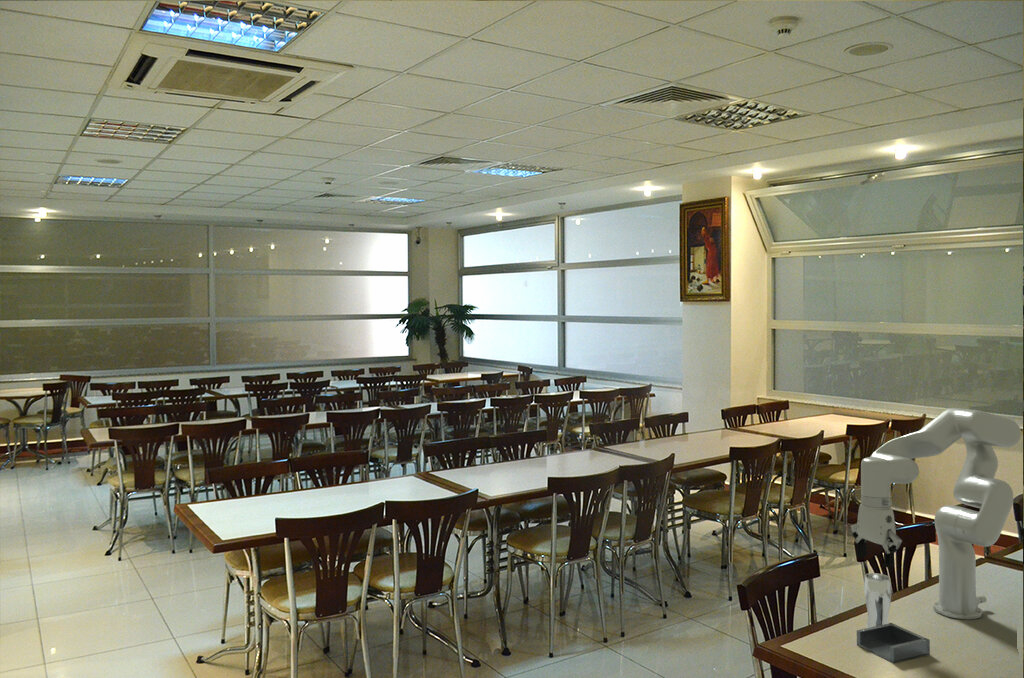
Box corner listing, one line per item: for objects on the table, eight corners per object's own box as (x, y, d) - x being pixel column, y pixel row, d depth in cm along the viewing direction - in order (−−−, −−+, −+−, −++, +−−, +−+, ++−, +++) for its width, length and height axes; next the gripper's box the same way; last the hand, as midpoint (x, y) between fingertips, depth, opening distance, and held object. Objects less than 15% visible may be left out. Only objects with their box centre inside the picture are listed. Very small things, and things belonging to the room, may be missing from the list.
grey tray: (891, 637, 218) (891, 622, 217) (929, 654, 206) (929, 639, 206) (856, 644, 213) (856, 630, 213) (893, 663, 202) (893, 648, 201)
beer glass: (894, 634, 219) (894, 581, 219) (868, 633, 221) (867, 580, 220) (887, 624, 226) (887, 573, 226) (862, 623, 227) (861, 572, 227)
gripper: (910, 507, 215) (910, 569, 216) (862, 494, 232) (862, 551, 232) (889, 509, 213) (889, 572, 213) (842, 496, 229) (842, 554, 229)
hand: (875, 561), depth 223 cm, fingers open, 9 cm apart
